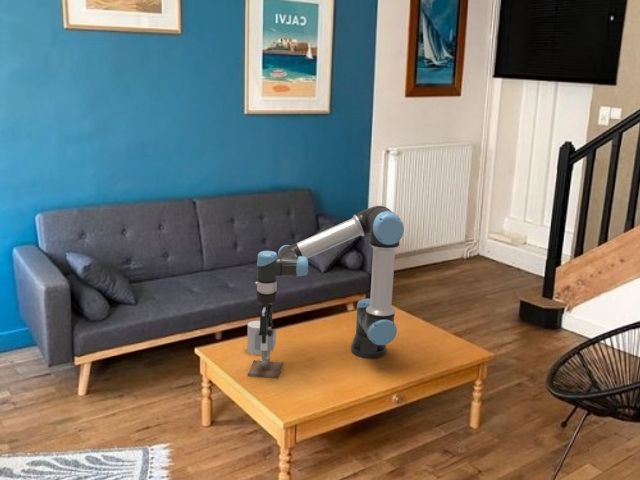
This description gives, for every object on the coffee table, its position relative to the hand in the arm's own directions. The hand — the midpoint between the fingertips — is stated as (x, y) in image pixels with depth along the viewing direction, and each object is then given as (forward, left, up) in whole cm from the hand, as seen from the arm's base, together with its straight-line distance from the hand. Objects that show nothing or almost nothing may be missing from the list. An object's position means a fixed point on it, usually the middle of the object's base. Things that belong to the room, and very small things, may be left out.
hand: (265, 346), depth 267 cm
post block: (0, 0, -11) cm, 11 cm away
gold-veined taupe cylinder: (+7, -18, -11) cm, 22 cm away
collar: (0, 0, 0) cm, 0 cm away
